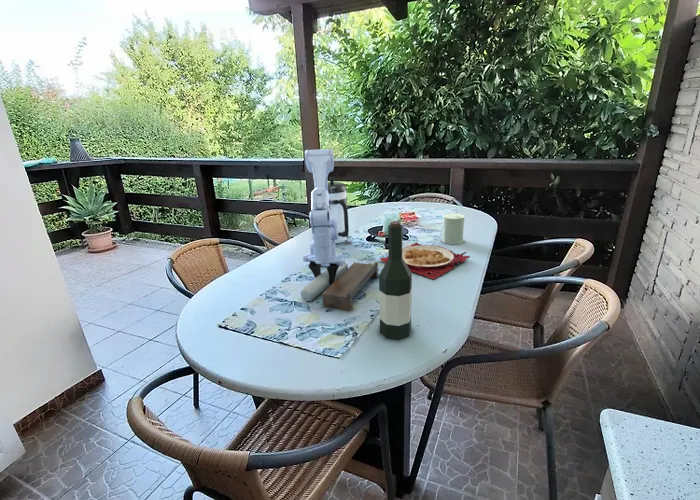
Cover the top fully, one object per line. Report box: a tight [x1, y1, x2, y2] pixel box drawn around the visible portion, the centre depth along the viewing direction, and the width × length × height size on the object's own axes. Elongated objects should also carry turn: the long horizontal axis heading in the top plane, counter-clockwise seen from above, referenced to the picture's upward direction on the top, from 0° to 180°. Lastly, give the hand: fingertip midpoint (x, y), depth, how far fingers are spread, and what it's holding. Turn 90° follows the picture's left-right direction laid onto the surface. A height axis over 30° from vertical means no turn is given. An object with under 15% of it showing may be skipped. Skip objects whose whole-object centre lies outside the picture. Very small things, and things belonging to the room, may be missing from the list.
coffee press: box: [328, 176, 352, 244], centre depth 162 cm, size 17×16×30 cm
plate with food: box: [379, 242, 471, 280], centre depth 142 cm, size 24×26×3 cm
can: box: [441, 212, 466, 245], centre depth 161 cm, size 9×9×12 cm
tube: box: [300, 261, 349, 302], centre depth 124 cm, size 5×5×25 cm
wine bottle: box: [378, 220, 413, 341], centre depth 92 cm, size 8×8×30 cm
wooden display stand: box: [321, 261, 379, 312], centre depth 120 cm, size 9×26×6 cm, turn 157°
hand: (325, 282), depth 124 cm, fingers closed on tube, 4 cm apart
